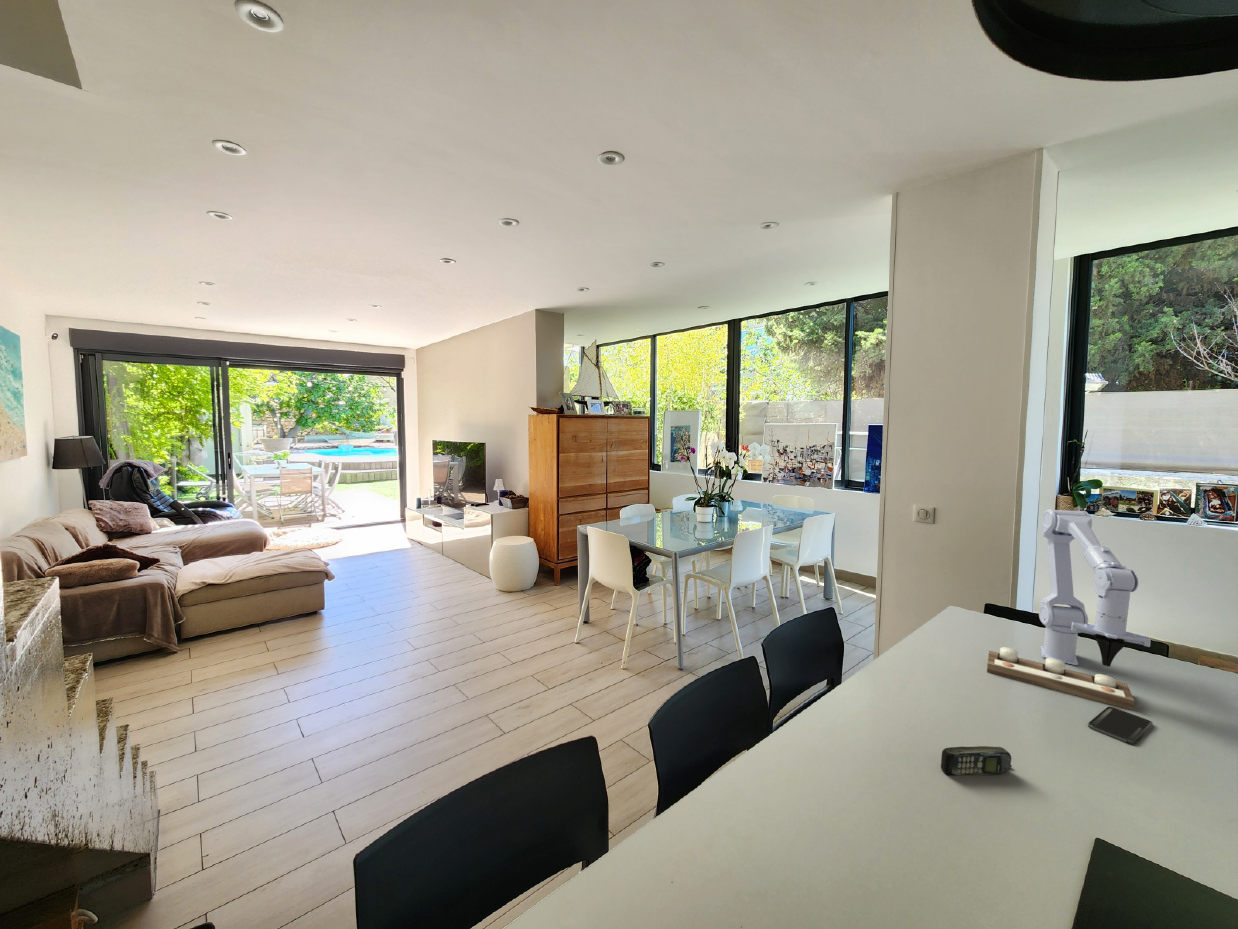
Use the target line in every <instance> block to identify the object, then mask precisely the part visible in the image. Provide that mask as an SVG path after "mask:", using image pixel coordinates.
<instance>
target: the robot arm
mask: <svg viewBox="0 0 1238 929" xmlns="http://www.w3.org/2000/svg"><path fill="white" fill-rule="evenodd" d="M1040 521H1041V522H1040V523H1041V532H1042V533H1041V534H1042V536H1043V537H1044V538H1046V539H1047V540H1046V541H1047V553H1048V568H1049V579H1050V580H1049V581H1050V583H1049V584H1050V594H1048V595H1047V596H1045V597H1043V598H1042V599H1041V600H1040V603H1039V604H1040V606H1039V609H1038V617H1039V620H1040V622H1041V623H1042V625H1044V626H1045V632H1044V641H1043V645H1040V651H1041V652H1040V653H1041V657H1042V658H1043V659H1046V658H1055V659H1058V660H1061V661H1063V662H1064V663H1065V664H1069V665H1073V666H1078V665H1079V662H1078V659H1077V655H1076V654H1077V644H1078V634H1081V633H1083V634H1087V635H1092V636H1094V638H1095V640H1096V643H1097V645H1098V648H1099V650H1100V655H1101V664H1102V666H1104V667H1110V668H1111V666H1112V665H1111V664H1112V663H1113V661H1114V659H1115V657H1116V656H1117V654H1119V652H1120V651H1121V650H1122V649H1124V647H1125V642H1127V643H1132V644H1137V645H1143V646H1144V647H1147V648H1150V647H1151V643H1152V642H1151V640H1152V639H1151V638H1150V637H1149V636H1145V635H1140V634H1138V633H1133V632H1131V631H1127V625H1128V624H1127V623H1128V615H1129V609H1130V608H1129V607H1130V598H1131V593H1134V592H1136V591H1137V590H1138V587H1139V578H1138V575H1137V574H1136V572H1135V570H1134V569H1131V568H1129V567H1127V566H1125V565H1122V564H1121V563H1120V561H1119V559H1118V558H1117V557H1116V556H1115V554H1114V553H1113V552H1112V550H1111V549H1110V548H1109V547H1107V546H1106V545H1105V546H1103V545H1101V544H1100V541H1099V540H1098V538H1097V536H1096V535H1095V533H1094V531H1093V529H1092V527H1093V518H1092V517H1091V515H1090V514H1089V513H1088V512H1087V511H1086V510H1063V509H1052V508H1048V509H1046V510H1045V511H1044V512H1043V514H1042V515H1041V519H1040ZM1073 540H1075V541H1076V542H1077V543H1078V544H1079V545H1080V546H1081V548H1083V550H1085V551H1084V552H1083V558H1084V559H1085V561H1086V563H1088V565H1089V566H1090V568H1091V569H1092V571H1093V572H1094V575H1093V580H1094V583H1095V592H1096V594H1097V595H1098V596H1097V603H1096V614H1095V622H1094V623H1095V624H1089V617H1088V613H1087V612H1086V608H1085V604H1084V603H1083V602H1082V601H1080V600H1079V599H1078V598H1077V597H1075V595H1074V585H1073V582H1074V581H1073V571H1072V558H1071V548H1070V547H1071V546H1070V544H1071V542H1072V541H1073ZM1060 605H1061V606H1060ZM1062 605H1063V606H1062Z"/></svg>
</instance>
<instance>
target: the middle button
mask: <svg viewBox="0 0 1238 929" xmlns="http://www.w3.org/2000/svg"><path fill="white" fill-rule="evenodd" d="M1044 664H1045V669H1046V670H1048V671H1050V672H1053V673H1058V674H1063V673H1064V670H1065V669H1066V663H1064V662H1063V661H1061V660H1058V659H1055V658H1045V663H1044Z"/></svg>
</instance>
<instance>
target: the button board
mask: <svg viewBox="0 0 1238 929" xmlns="http://www.w3.org/2000/svg"><path fill="white" fill-rule="evenodd" d="M987 658H988V660H987V667H986V672H987V673H989V674H994V675H996V676H997V675H998V676H1001V677H1004V678H1009V679H1013V680H1016V681H1020V682H1023V683H1028V684H1032V685H1035V686H1039V687H1043V688H1047V689H1050V690H1054V691H1059V692H1062V693H1066V694H1070V695H1074V696H1076V697H1077V696H1078V697H1080V698H1084V699H1089V700H1092V701H1096V702H1100V703H1104V704H1108V705H1111V706H1114V707H1115V706H1116V707H1119V708H1123V709H1127V710H1130V711H1134V706H1135V699H1134V697H1133V694H1132V692H1131V689H1130V687H1129V685H1128V683H1124V682H1122V681H1118V680H1116V687H1115V689H1118V690H1122V691H1123V692H1124V694H1125V698H1124V697H1120V696H1116V695H1113V694H1109V693H1105V692H1101V691H1097V690H1093V689H1089V688H1085V687H1081V686H1077V685H1073V684H1069V683H1065V682H1061V681H1057V680H1053V679H1049V678H1045V677H1042V676H1038V675H1034V674H1030V673H1026V672H1022V671H1018V670H1014V669H1010V668H1006V667H1002V666H998V665H994V663H995V659H997V660H1001V661H1005V660H1003V659H1001V658H1000V652H997V651H994V650H993V651H992V650H988V657H987ZM1005 662H1009V661H1005ZM1009 663H1013V664H1017V665H1021V666H1025V667H1029V668H1033V669H1037V670H1041V671H1045V672H1049V673H1053V672H1050V671H1048V670H1046V669H1045V663H1042V662H1037V661H1034V660H1029V659H1025V658H1020V657H1018V658H1017V662H1009ZM1053 674H1057V675H1061V676H1065V677H1069V678H1073V679H1077V680H1081V681H1085V682H1089V683H1093V684H1094V679H1095V675H1091V674H1088V673H1083V672H1079V671H1075V670H1070V669H1067V668H1065V670H1064V673H1063V674H1058V673H1053ZM1097 685H1098V684H1097ZM1101 686H1102V685H1101ZM1105 687H1106V686H1105ZM1109 688H1110V687H1109Z"/></svg>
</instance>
